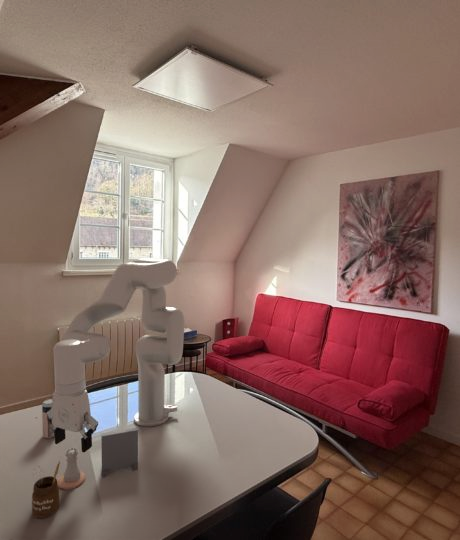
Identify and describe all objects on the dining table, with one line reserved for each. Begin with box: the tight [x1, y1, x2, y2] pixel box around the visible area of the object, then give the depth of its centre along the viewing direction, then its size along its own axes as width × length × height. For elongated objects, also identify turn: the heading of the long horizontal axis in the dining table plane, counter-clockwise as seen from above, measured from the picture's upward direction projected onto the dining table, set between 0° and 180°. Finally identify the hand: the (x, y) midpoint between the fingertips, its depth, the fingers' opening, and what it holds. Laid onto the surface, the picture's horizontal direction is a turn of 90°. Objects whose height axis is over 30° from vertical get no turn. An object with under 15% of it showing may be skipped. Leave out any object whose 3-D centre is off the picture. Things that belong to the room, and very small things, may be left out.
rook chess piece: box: [62, 447, 81, 483], centre depth 100 cm, size 4×4×8 cm
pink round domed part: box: [57, 470, 86, 490], centre depth 100 cm, size 7×7×1 cm
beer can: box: [41, 398, 55, 439], centre depth 123 cm, size 5×5×12 cm
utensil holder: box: [31, 461, 61, 519], centre depth 89 cm, size 6×6×12 cm
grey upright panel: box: [100, 427, 139, 478], centre depth 106 cm, size 10×5×11 cm, turn 112°
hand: (73, 445), depth 101 cm, fingers open, 9 cm apart
